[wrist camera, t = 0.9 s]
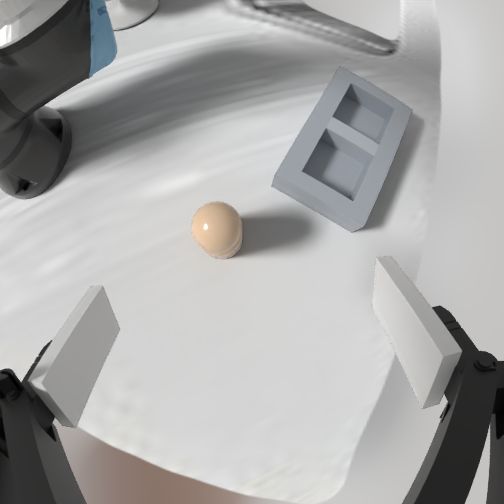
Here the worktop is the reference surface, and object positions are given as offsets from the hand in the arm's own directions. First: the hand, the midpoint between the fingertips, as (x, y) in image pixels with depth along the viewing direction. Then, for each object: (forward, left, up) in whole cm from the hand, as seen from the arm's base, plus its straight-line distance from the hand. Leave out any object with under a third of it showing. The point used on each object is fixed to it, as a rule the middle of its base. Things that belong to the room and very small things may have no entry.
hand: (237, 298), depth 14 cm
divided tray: (+3, +23, -24) cm, 34 cm away
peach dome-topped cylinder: (-5, +4, -24) cm, 25 cm away
